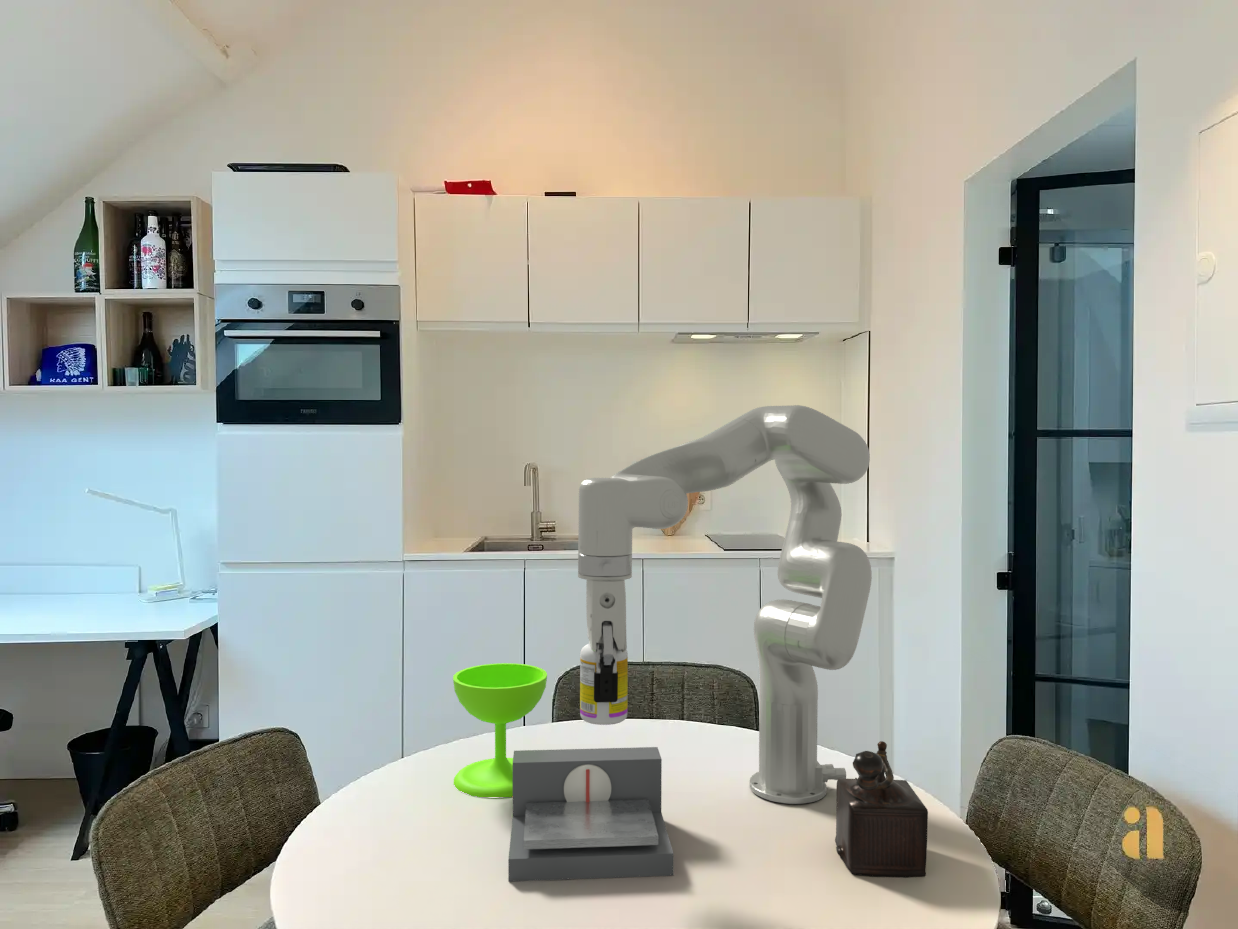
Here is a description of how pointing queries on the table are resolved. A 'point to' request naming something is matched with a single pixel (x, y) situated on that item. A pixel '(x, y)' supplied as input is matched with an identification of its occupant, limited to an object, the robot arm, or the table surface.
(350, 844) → the table surface
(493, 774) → the wineglass
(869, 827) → the manual coffee grinder
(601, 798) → the scale
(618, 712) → the supplement bottle
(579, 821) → the pan
